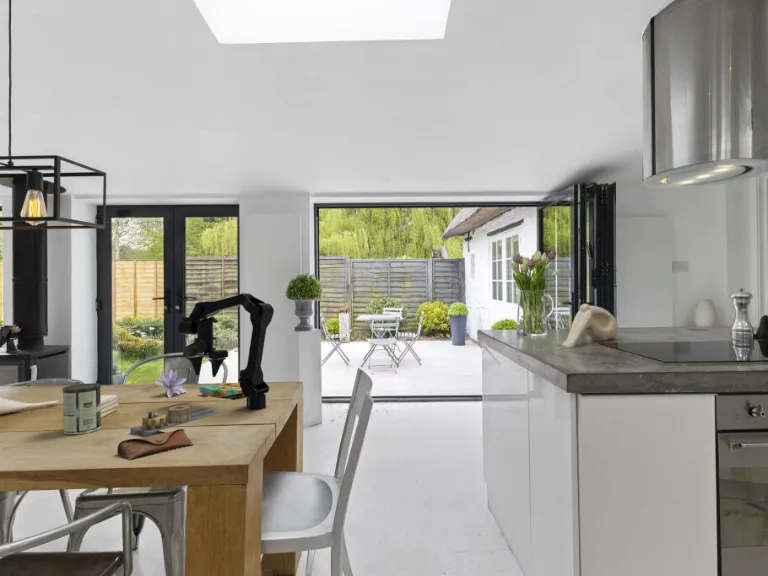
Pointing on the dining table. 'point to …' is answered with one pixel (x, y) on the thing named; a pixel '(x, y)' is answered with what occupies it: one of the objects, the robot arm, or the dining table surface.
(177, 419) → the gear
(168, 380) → the water lily
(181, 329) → the robot arm
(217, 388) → the puzzle game
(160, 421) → the gear board
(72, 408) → the coffee can
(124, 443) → the sunglasses case
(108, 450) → the dining table surface
